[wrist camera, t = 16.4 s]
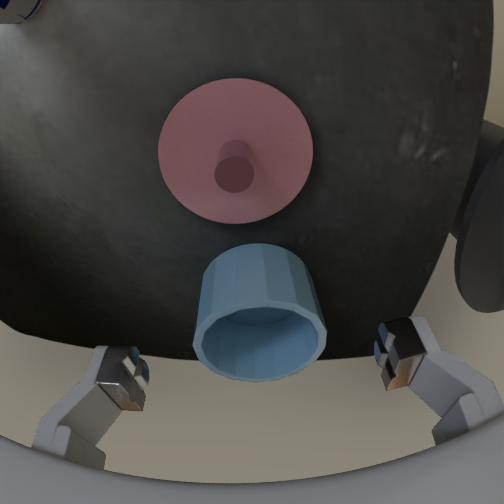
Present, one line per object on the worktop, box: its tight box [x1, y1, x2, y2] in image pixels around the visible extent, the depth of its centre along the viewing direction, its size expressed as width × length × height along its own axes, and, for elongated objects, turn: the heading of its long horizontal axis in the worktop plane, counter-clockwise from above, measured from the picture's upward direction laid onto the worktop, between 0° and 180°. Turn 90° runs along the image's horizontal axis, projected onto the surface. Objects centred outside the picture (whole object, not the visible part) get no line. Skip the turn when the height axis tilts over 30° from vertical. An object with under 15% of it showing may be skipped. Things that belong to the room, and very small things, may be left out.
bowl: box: [193, 243, 327, 382], centre depth 31 cm, size 13×13×8 cm
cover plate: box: [158, 78, 313, 224], centre depth 23 cm, size 13×13×6 cm
